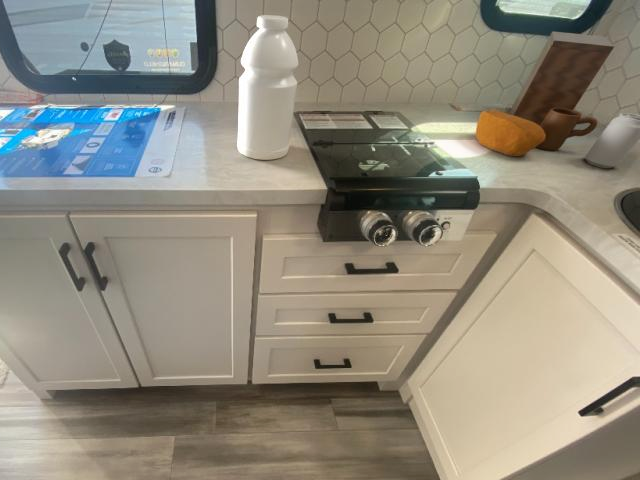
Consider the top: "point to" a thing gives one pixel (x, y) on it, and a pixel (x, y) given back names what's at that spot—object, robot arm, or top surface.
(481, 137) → the bread
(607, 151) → the can
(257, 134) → the bottle
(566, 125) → the mug
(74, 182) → the top surface
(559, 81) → the wooden board
